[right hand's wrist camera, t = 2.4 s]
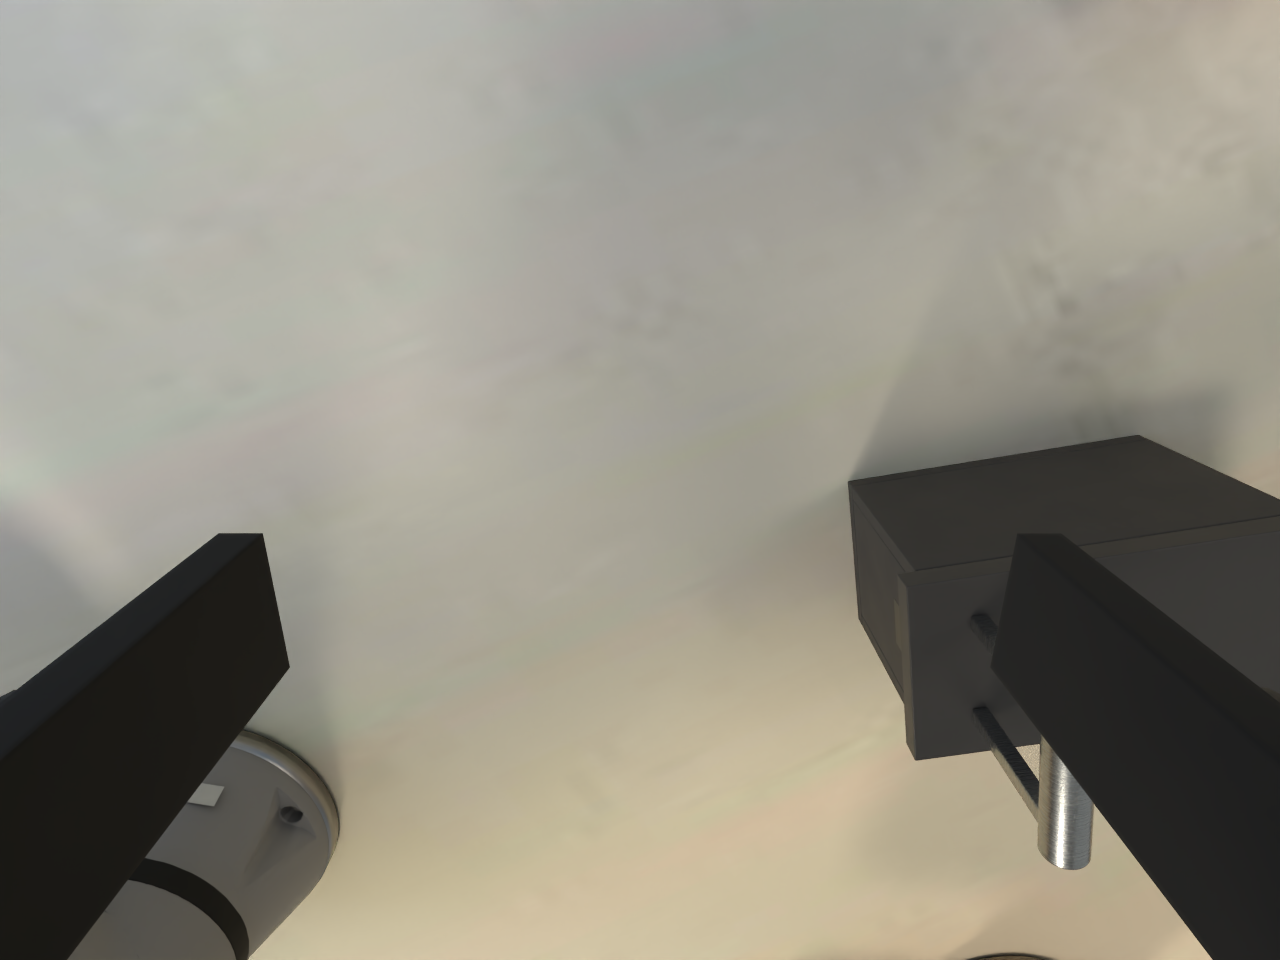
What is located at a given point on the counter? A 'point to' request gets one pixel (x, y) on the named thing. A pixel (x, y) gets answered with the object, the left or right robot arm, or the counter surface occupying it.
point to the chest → (1026, 514)
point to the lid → (991, 718)
